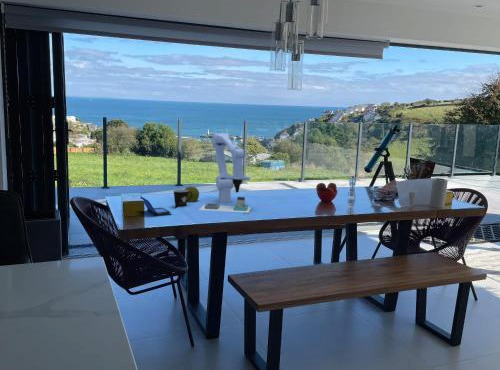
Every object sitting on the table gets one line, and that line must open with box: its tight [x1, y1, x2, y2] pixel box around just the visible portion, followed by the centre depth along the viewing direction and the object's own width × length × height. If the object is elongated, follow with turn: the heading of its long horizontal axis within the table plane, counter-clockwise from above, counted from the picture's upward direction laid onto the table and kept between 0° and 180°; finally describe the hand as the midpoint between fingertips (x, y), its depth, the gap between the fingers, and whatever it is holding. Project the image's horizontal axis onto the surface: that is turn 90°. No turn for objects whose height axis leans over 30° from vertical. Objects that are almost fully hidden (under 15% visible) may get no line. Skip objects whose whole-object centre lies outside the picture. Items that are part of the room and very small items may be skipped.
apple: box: [184, 186, 200, 203], centre depth 290 cm, size 10×10×11 cm
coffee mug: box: [173, 188, 192, 209], centre depth 276 cm, size 12×9×10 cm
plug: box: [236, 196, 246, 208], centre depth 270 cm, size 4×4×7 cm
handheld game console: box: [139, 196, 172, 217], centre depth 260 cm, size 16×13×9 cm
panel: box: [198, 202, 253, 215], centre depth 272 cm, size 14×29×3 cm, turn 83°
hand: (237, 192), depth 274 cm, fingers closed
